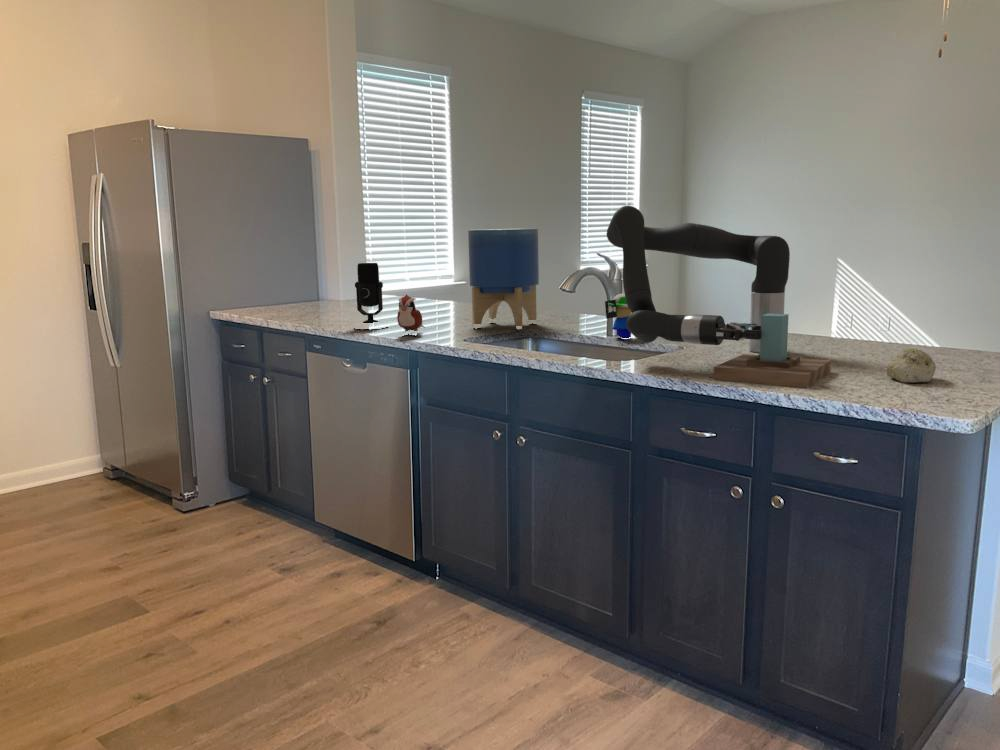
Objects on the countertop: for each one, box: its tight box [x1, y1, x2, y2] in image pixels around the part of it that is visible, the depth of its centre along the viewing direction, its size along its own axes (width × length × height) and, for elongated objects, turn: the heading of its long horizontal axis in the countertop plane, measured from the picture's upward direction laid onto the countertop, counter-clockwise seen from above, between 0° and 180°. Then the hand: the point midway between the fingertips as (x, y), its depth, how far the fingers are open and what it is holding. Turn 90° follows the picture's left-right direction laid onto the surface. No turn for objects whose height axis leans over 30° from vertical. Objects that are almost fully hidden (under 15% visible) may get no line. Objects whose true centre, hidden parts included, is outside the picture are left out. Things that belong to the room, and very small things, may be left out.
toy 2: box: [604, 293, 632, 338], centre depth 266 cm, size 9×9×15 cm
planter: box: [467, 227, 540, 327], centre depth 305 cm, size 26×26×37 cm
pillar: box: [759, 313, 789, 362], centre depth 197 cm, size 5×5×12 cm
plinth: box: [712, 353, 832, 388], centre depth 198 cm, size 22×22×4 cm
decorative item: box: [885, 348, 937, 384], centre depth 189 cm, size 12×9×10 cm
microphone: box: [354, 262, 384, 323], centre depth 312 cm, size 14×14×25 cm
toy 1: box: [396, 294, 426, 332], centre depth 288 cm, size 9×16×15 cm, turn 166°
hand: (766, 332), depth 198 cm, fingers open, 8 cm apart
